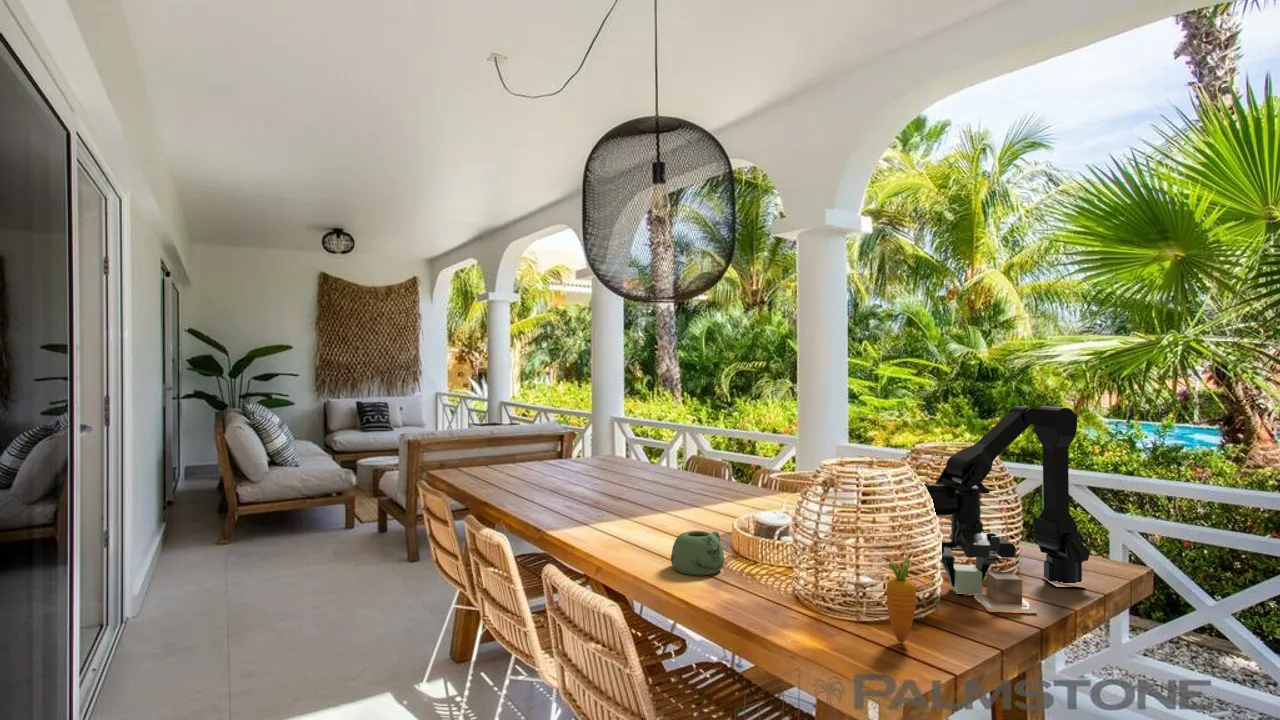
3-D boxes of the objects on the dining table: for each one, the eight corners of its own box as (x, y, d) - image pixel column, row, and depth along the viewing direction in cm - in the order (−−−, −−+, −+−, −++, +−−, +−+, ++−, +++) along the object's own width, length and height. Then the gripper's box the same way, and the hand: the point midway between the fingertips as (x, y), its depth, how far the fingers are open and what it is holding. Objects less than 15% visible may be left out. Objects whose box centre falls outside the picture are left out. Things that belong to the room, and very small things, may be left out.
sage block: (973, 588, 156) (973, 565, 156) (982, 595, 151) (982, 572, 151) (949, 587, 156) (949, 564, 156) (957, 595, 151) (957, 571, 151)
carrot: (889, 648, 124) (889, 562, 124) (884, 637, 129) (884, 554, 129) (919, 649, 123) (919, 563, 123) (912, 638, 128) (912, 555, 128)
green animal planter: (704, 581, 161) (704, 543, 161) (659, 570, 170) (659, 534, 170) (741, 565, 174) (741, 530, 174) (697, 556, 182) (697, 522, 182)
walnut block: (1011, 596, 148) (1011, 572, 148) (1022, 604, 143) (1022, 579, 143) (986, 595, 148) (986, 571, 148) (996, 603, 143) (996, 578, 143)
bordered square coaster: (1017, 599, 150) (1017, 593, 150) (1037, 614, 141) (1037, 608, 141) (973, 597, 150) (973, 592, 150) (989, 612, 141) (989, 606, 141)
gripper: (932, 521, 146) (932, 597, 146) (1027, 524, 144) (1027, 600, 144) (916, 510, 157) (916, 580, 157) (1005, 512, 156) (1005, 583, 156)
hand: (965, 586), depth 153 cm, fingers closed on sage block, 5 cm apart
